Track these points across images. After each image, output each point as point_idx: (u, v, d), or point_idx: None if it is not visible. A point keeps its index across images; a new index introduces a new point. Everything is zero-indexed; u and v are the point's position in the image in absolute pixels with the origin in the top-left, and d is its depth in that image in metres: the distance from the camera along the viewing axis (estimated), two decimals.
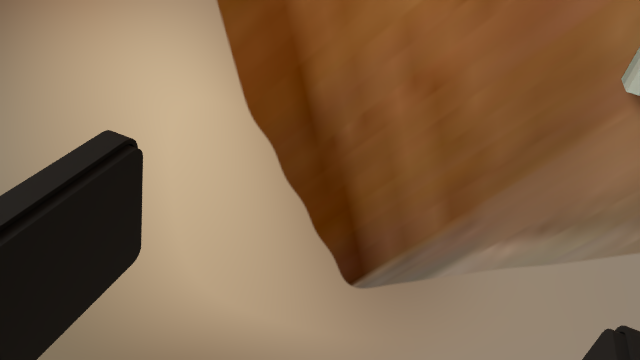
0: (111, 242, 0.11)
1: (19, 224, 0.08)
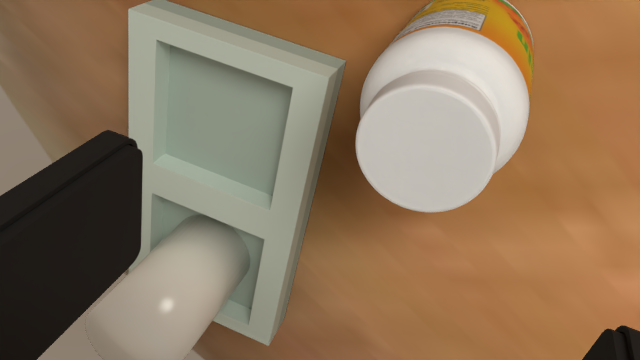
0: (111, 242, 0.11)
1: (19, 224, 0.08)
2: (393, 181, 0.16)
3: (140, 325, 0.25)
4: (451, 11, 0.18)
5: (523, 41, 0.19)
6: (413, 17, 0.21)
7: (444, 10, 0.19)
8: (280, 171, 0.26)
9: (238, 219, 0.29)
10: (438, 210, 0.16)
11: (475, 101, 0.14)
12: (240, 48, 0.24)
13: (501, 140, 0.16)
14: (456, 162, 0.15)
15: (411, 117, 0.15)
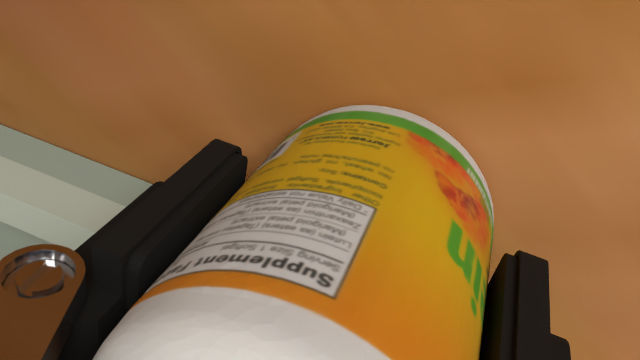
0: None
1: (162, 229, 0.09)
2: None
3: None
4: (300, 197, 0.08)
5: (463, 249, 0.09)
6: (265, 160, 0.11)
7: (289, 189, 0.09)
8: None
9: None
10: None
11: None
12: None
13: None
14: None
15: None
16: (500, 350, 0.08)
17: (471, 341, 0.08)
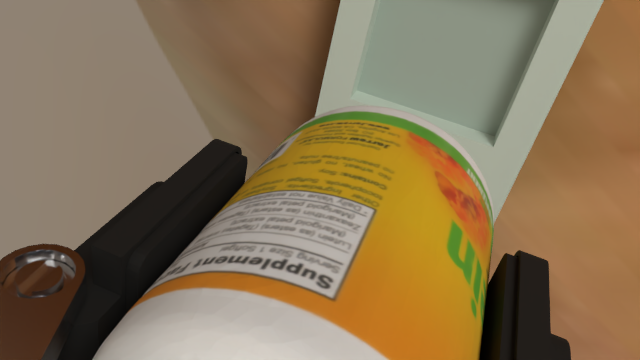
0: None
1: (162, 229, 0.09)
2: None
3: None
4: (299, 198, 0.08)
5: (463, 250, 0.09)
6: (265, 160, 0.11)
7: (289, 190, 0.09)
8: (518, 99, 0.23)
9: None
10: None
11: None
12: None
13: None
14: None
15: None
16: (500, 350, 0.08)
17: (471, 343, 0.08)
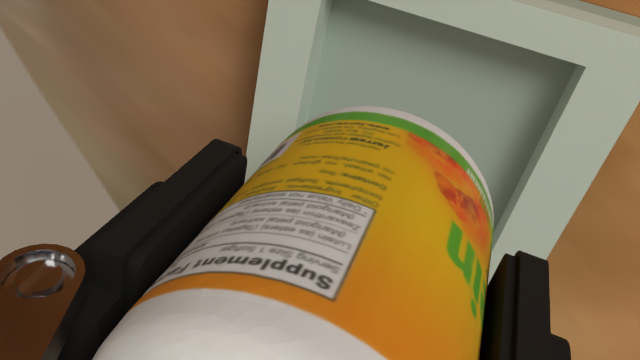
0: None
1: (162, 229, 0.09)
2: None
3: None
4: (299, 199, 0.08)
5: (462, 251, 0.09)
6: (265, 161, 0.11)
7: (289, 190, 0.09)
8: (519, 210, 0.16)
9: None
10: None
11: None
12: None
13: None
14: None
15: None
16: (500, 350, 0.08)
17: (471, 343, 0.08)
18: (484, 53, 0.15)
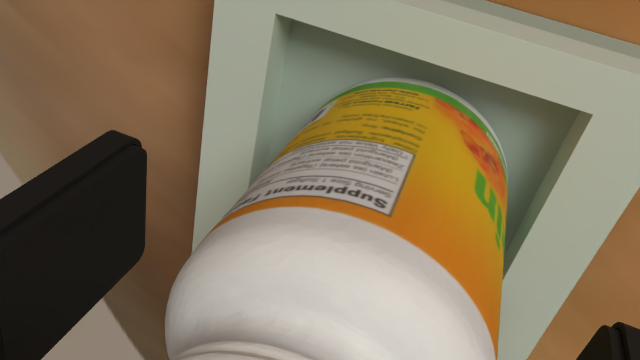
0: (115, 242, 0.11)
1: (25, 224, 0.08)
2: None
3: None
4: (349, 145, 0.10)
5: (487, 194, 0.10)
6: (304, 125, 0.13)
7: (338, 139, 0.10)
8: (512, 275, 0.13)
9: None
10: None
11: None
12: (478, 29, 0.11)
13: None
14: None
15: None
16: None
17: (497, 267, 0.09)
18: (470, 91, 0.13)
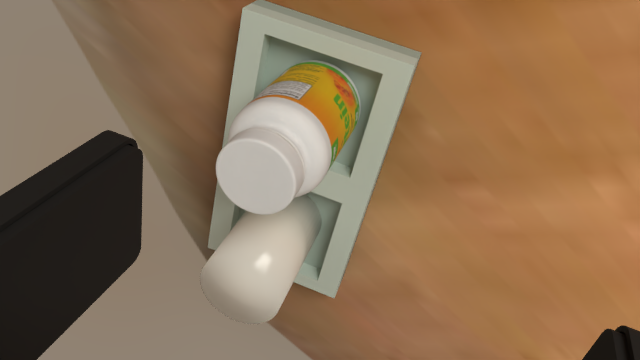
0: (111, 242, 0.11)
1: (19, 224, 0.08)
2: (240, 195, 0.25)
3: (254, 270, 0.30)
4: (290, 82, 0.28)
5: (339, 101, 0.29)
6: None
7: (286, 80, 0.28)
8: (363, 144, 0.32)
9: (320, 186, 0.34)
10: (268, 213, 0.25)
11: (281, 149, 0.24)
12: (340, 41, 0.29)
13: (311, 169, 0.26)
14: (274, 185, 0.24)
15: (246, 157, 0.24)
16: None
17: (338, 123, 0.28)
18: (344, 66, 0.31)
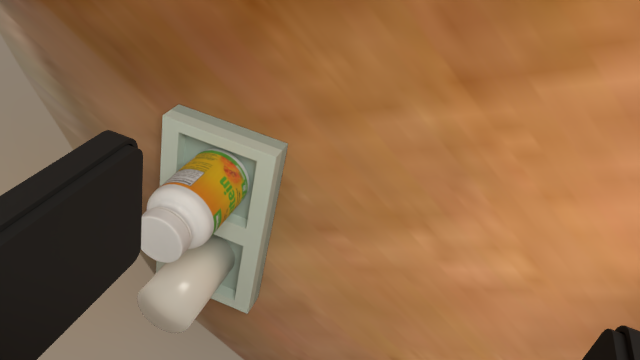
0: (111, 242, 0.11)
1: (19, 224, 0.08)
2: (150, 250, 0.39)
3: (171, 296, 0.43)
4: (189, 170, 0.41)
5: (225, 182, 0.42)
6: None
7: (188, 169, 0.42)
8: (251, 206, 0.45)
9: (227, 234, 0.47)
10: (168, 262, 0.39)
11: (171, 222, 0.37)
12: (227, 139, 0.42)
13: (198, 232, 0.39)
14: (169, 244, 0.38)
15: (150, 227, 0.38)
16: None
17: (221, 198, 0.41)
18: (235, 152, 0.44)
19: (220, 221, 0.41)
